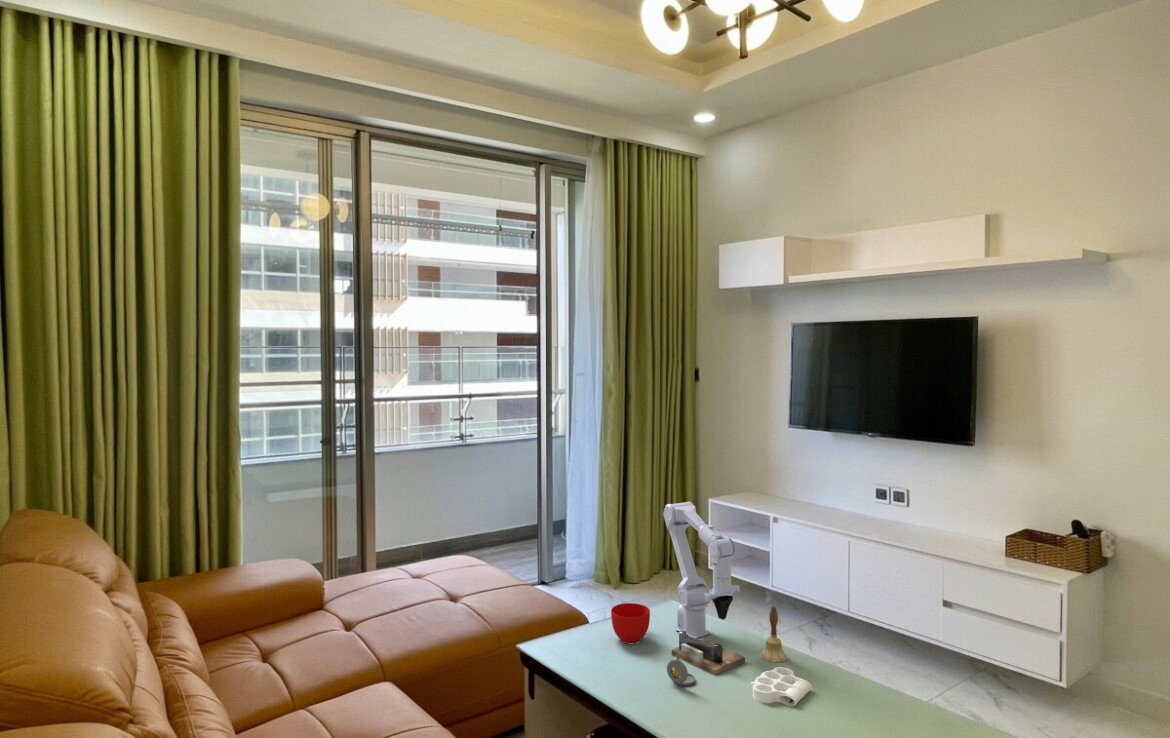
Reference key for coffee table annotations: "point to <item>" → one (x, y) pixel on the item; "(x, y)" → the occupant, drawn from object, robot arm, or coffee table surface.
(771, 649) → the hand bell
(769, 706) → the coffee table surface
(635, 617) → the ceramic cup
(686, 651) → the press base
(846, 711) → the coffee table surface
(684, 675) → the pocket watch
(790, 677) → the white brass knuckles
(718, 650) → the lever
